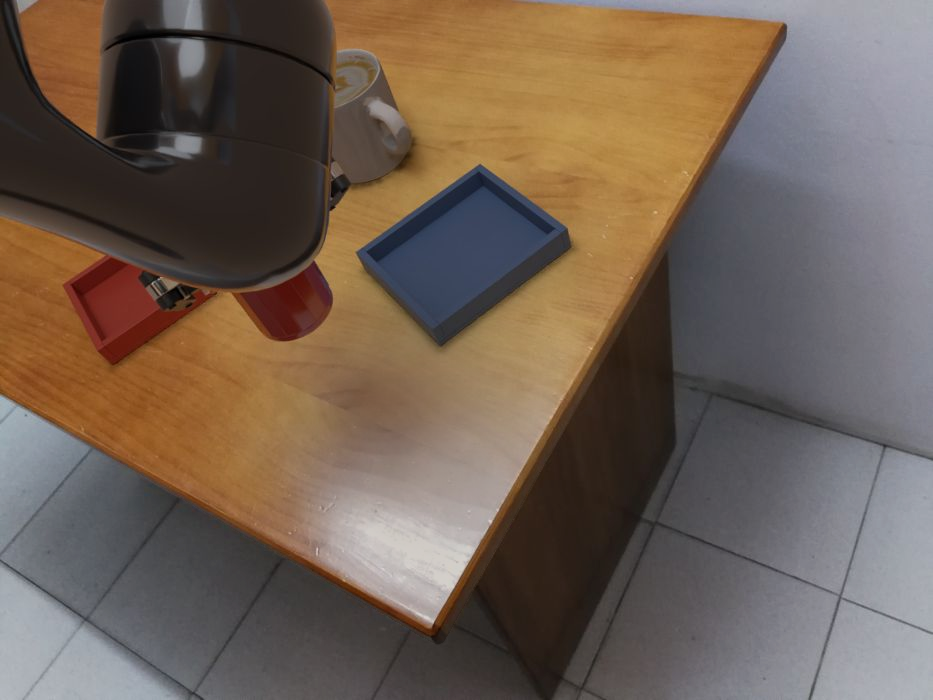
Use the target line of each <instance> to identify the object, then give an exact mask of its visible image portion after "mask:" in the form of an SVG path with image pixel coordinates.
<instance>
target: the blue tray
mask: <svg viewBox="0 0 933 700" xmlns="http://www.w3.org/2000/svg"><path fill="white" fill-rule="evenodd" d="M571 248H572V242H571V237H570V233H569V228H568V227H567V225H564V224H563V223H562V222H560V221H559V220H558V219H556V218H555V217H553V216H552V215H551V214H550V213H548V212H547V211H545V209H543V208H542V207H540V206H538V205H537V204H535V203H534V202H533V201H532V200H531V199H529V198H527V196H525V195H523V193H521V192H519V191H518V190H517V189H515V188H514V187H513V186H511V185H510V184H508V182H506V181H505V180H504V179H502V178H501V177H499V176H498V175H496V174H495V173H493V172H492V171H491V170H490V169H488V168H487V167H486V166H484V165H483V164H481V163H479V164H477V165H476V166H475V167H473V168H472V169H470V170H468V171H467V172H466V173H465V174H463V175H462V176H460V177H459V178H458V179H456V180H455V181H454V182H452V183H451V184H449V185H448V186H446V187H445V188H444V189H442V190H441V191H439V192H438V193H436V194H435V195H434V196H432V197H431V198H430V199H428V200H427V201H425V202H424V203H423V204H421V205H420V206H419V207H416V209H414V210H413V211H411V212H410V213H409V214H407V215H406V216H404V217H403V218H401V219H400V220H399V221H397V222H396V223H394V224H393V225H392V226H390V227H389V228H387V229H386V230H385V231H383V232H382V233H381V234H379V235H378V236H376V237H375V238H373V239H372V240H370V241H369V242H368V243H366V244H365V245H364V246H362V247H361V248H359V249H358V250H356V251H355V254H356V256H357V258H358V260H359V262H360V263H361V266H362V267H363V270H365V271H366V272H367V273H368V275H370V277H372V279H374V281H376V283H377V284H378V285H379V286H380V287H381V288H382V289H383V290H384V291H385V292H386V293H387V294H388V295H389V296H390V297H391V298H392V299H393V300H394V301H395V302H396V303H397V304H398V305H399V306H400V307H401V308H402V309H403V310H404V311H405V313H407V315H409V316H410V317H411V318H412V319H413V320H414V321H415V322H416V323H417V324H418V325H419V326H420V327H421V328H422V330H424V331H425V333H426V334H427V335H428V336H429V337H430V338H432V340H433V341H434V342H435V343H436V344H437V345H438V346H439V347H442V346H443V345H444V344H445V343H447V342H448V341H449V340H451V339H452V338H454V336H456V335H458V334H459V333H460V332H461V331H463V330H464V329H465V328H466V327H468V326H469V325H471V323H473V322H474V321H476V320H478V319H479V317H481V316H482V315H484V314H485V313H486V312H487V311H489V310H491V309H492V308H493V307H494V306H496V305H497V304H498V303H499V302H501V301H502V300H504V299H505V298H506V297H507V296H509V295H510V294H512V293H513V292H514V291H515V290H516V289H518V288H519V287H521V286H522V285H523V284H525V283H526V282H528V281H529V280H530V279H532V278H533V277H534V276H535V275H536V274H537V273H539V272H540V271H542V270H543V269H544V268H546V267H548V265H550V264H551V263H552V262H553V261H555V260H557V258H559V257H560V256H561V255H563V254H564V253H565V252H567V251H568V250H569V249H571Z"/></svg>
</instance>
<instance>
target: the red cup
mask: <svg viewBox="0 0 933 700" xmlns="http://www.w3.org/2000/svg"><path fill="white" fill-rule="evenodd" d="M231 295H232V296H233V298H234V299H235V300H236V302H237V303H238V304H239V305H240V307H241V308H242V310H243V311H244V312H245V314H246V315H247V316H248V317H249V319H250V320H251V322H252V323H253V324H254V326H255V327H256V328H257V329H258V331H259V332H260V333H261V334H262V335H263V336H264V337H265V338H267V339H269V340H271V341H273V342H291V341H292V342H293V341H297V340H300V339H301V338H304V337H306V336H308V335H310V334H311V333H313V332H314V331H316V330H317V329H319V328H320V326H321V325H322V324H323V323H324V322H325V321H326V319H327V318H328V316H329V315H330V313H331V310H332V308H333V304H334V295H333V290H332V289H331V287H330V285H329V282H328V281H327V279H326V277H325V276H324V274H323V272H322V271H321V269H320V267H319V266H318V264H317V262H316V259H314V261H313V262H312V263H311V264H310V265H309V266H308V267H307V268H306V269H304V270H303V271H302V272H300V273H299V274H298V275H296V276H295V277H293V278H291V279H289V280H287V281H285V282H283V283H281V284H279V285H277V286H274V287H271V288H268V289H264V290H259V291H251V292H241V293H231Z"/></svg>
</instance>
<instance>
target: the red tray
mask: <svg viewBox="0 0 933 700" xmlns="http://www.w3.org/2000/svg"><path fill="white" fill-rule="evenodd" d="M142 271H143V270H141V269H138V268H136V267H133V266H131V265H128V264H126V263H123V262H121V261H119V260H116V259H114V258H111V257H109V256H106V255H104V256H103V257H101V258H100V259H98V260H97V261H95V262H93V263H92V264H91V265H89V266H88V267H86V268H85V269H83V270H82V271H80V272H79V273H77V274H76V275H74V276H73V277H71V278H70V279H68V280H67V281H65V282H64V283H62V287H63V289H64V291H65V293H66V295H67V297H68V298H69V300H70V302H71V304H72V306H73V308H74V310H75V312H76V313H77V315H78V317H79V319H80V321H81V323H82V325H83V327H84V329H85V330H86V333H87V335H88V337H89V338H90V340H91V342H92V344H93V346H94V347H95V350H96V351H97V352H98V353H99V354H100V355H101V356H102V357H103V358H104V359H105V360H106V361H108V363H110V364H111V365H112V366H113V365H115V364H117V363H118V362H119V361H121V360H123V359H124V358H125V357H127V356H128V355H130V354H132V352H134V351H136V350H137V349H138V348H140V347H141V346H142V345H144V344H145V343H146V342H148V341H150V340H151V339H153V338H154V337H155V336H157V335H158V334H159V333H161V332H163V331H165V330H166V329H167V328H168V327H169V326H171V325H173V324H174V323H176V322H177V321H178V320H180V319H181V318H183V317H184V316H186V315H187V314H188V313H190V312H192V311H193V310H194V309H195V308H197V307H198V306H200V305H201V304H203V303H204V302H205V301H207V300H208V299H210V298H211V297H213V296H214V295H216V294H217V293H218V292H217V291H215V292H214V293H212V294H211V293H209V294H207V295H205V294H204V293H203V292H202V290H200V291H198V292H196V293H194V294H193V296H194V297H195V298H196V299H197V300H196V301H195V302H194V303H193V306H191V307H190V308H188V309H186V308H185V309H183V310H180V311H169V312H163V311H162V310H161V308H160V307H159V306H158V304H157V303H156V302H155V301H154V299H153V298H152V297H151V295H150V294H149V293H148V292H147V290H146V289H145V287H144V286H143V285H142V284H141V282H140V281H139V280H138V277H139V276H140V275H141V274H142V273H141V272H142Z"/></svg>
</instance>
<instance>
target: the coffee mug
mask: <svg viewBox="0 0 933 700" xmlns="http://www.w3.org/2000/svg"><path fill="white" fill-rule="evenodd" d="M334 92H335V107H334V126H333V145H332V157H333V158H334V159H335V161H336V162H337V164H338V165H339V166H340V168H341V169H342V171H343V172H344V173H345V175H346V176H347V178H348V179H349V180H350V182H351V183H352V184H351V185H353V184H356V185H357V184H365V183H368V182H371V181H375V180H377V179H380V178H382V177H383V176H386V175H387V174H389V173H391V172H392V171H394V169H396V168H397V167H398V166H399V165H400V164H401V163H402V161H403V160H405V157H406V156H407V154H408V153H409V151H410V150H411V149H412V145H413V139H412V133H411V131H410V128H409V126H408V124H407V122H406V120H405V119H404V118H403V116H402V114H401V113H400V110H399V107H398V105H397V103H396V99H395V97H394V95H393V92H392V89H391V87H390V85H389V82H388V79H387V77H386V74H385V71H384V68H383V66H382V64H381V62H380V59H379V58H378V56H376V55H375V54H374V53H372V52H371V51H369V50H366V49H361V48H345V49H344V48H343V49H340V50H337V62H336V87H335V91H334Z"/></svg>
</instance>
